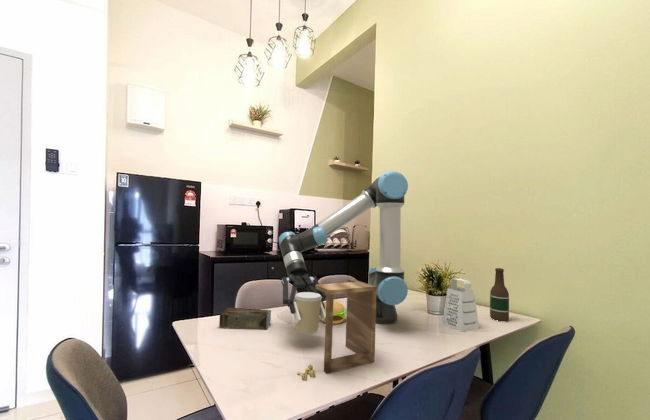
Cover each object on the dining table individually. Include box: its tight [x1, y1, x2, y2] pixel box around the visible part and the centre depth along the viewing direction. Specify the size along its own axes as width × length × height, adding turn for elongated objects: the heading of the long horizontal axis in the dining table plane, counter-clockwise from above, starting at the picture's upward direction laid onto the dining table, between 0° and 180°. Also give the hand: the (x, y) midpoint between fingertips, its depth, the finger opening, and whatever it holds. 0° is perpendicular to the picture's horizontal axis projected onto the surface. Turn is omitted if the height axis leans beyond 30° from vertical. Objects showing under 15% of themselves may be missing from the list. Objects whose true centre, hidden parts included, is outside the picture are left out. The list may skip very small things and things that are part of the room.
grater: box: [441, 278, 480, 332], centre depth 130 cm, size 10×10×20 cm
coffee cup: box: [294, 291, 322, 335], centre depth 104 cm, size 9×9×12 cm
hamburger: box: [322, 299, 347, 325], centre depth 131 cm, size 12×12×9 cm
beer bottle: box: [489, 267, 510, 322], centre depth 143 cm, size 8×8×24 cm
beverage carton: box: [218, 307, 272, 331], centre depth 121 cm, size 8×19×7 cm, turn 89°
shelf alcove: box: [315, 278, 377, 374], centre depth 95 cm, size 17×14×23 cm
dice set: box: [296, 364, 316, 381], centre depth 83 cm, size 5×5×2 cm
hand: (311, 320), depth 101 cm, fingers closed on coffee cup, 9 cm apart
